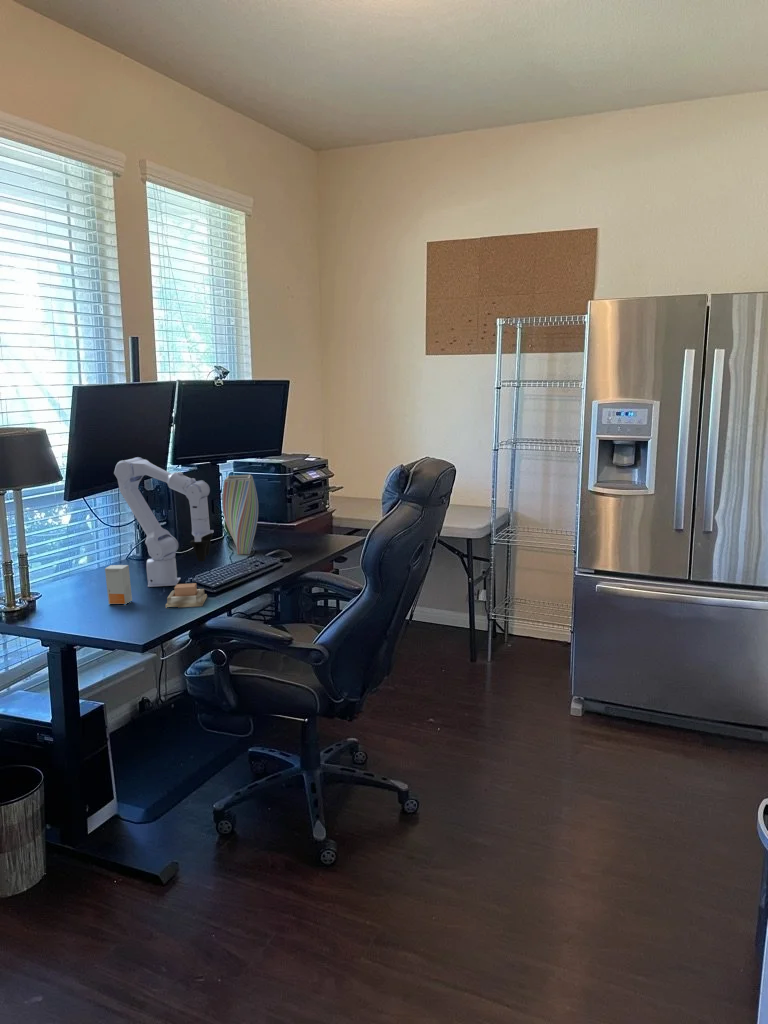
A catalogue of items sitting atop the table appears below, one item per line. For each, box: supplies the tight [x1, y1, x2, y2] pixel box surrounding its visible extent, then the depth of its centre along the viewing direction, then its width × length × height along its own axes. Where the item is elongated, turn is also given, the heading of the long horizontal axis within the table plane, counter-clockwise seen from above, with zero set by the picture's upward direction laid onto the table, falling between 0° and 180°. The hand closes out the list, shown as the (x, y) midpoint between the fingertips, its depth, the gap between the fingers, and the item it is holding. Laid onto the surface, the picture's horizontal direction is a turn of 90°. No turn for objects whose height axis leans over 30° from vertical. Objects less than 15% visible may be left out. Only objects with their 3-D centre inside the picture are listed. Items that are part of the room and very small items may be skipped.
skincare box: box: [104, 564, 133, 605], centre depth 233 cm, size 6×4×12 cm
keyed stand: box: [165, 588, 208, 609], centre depth 232 cm, size 11×9×3 cm
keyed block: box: [173, 582, 198, 596], centre depth 232 cm, size 4×6×4 cm, turn 95°
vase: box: [221, 474, 259, 555], centre depth 289 cm, size 14×14×30 cm
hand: (203, 558), depth 248 cm, fingers open, 7 cm apart
